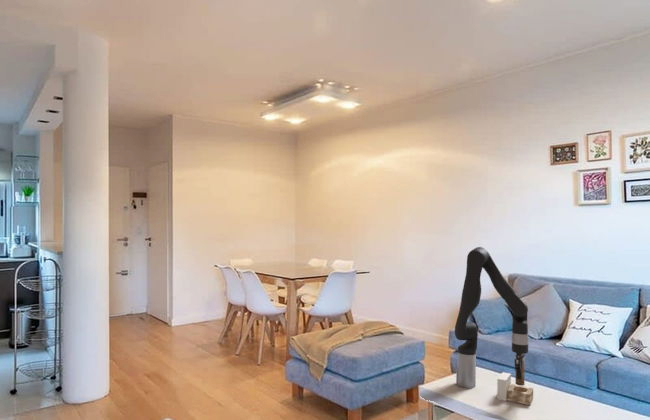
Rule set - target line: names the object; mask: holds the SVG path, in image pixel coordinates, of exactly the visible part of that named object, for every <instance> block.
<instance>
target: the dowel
mask: <svg viewBox="0 0 650 420" xmlns="http://www.w3.org/2000/svg"><path fill="white" fill-rule="evenodd" d="M521 364H522V363H521ZM524 365H525V364H524V361H523V367H522V378H521V379H517V378H516V377H515V385H519V386H525V366H524ZM518 368H519V367H518Z"/></svg>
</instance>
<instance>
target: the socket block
mask: <svg viewBox="0 0 650 420" xmlns="http://www.w3.org/2000/svg"><path fill="white" fill-rule="evenodd" d="M533 400H534V388H533V387H528V386H525V385H523V386H520V385H517V384H513V383H511V386H510V387H509V389H508V399H507V401H509V402H514V403H516V404H517V403H518V404H523V405H527V406H531V405H532V402H533Z"/></svg>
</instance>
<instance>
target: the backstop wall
mask: <svg viewBox="0 0 650 420" xmlns="http://www.w3.org/2000/svg"><path fill="white" fill-rule="evenodd" d="M511 384H512V374H511V373H509V372H501V373H500V375H499V376H498V378H497V388H496V390H497V391H496V395H497V396H496V397H497V400H499V401H503V402H507V401H508V389H509V387H510V386H511Z"/></svg>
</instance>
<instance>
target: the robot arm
mask: <svg viewBox="0 0 650 420" xmlns="http://www.w3.org/2000/svg"><path fill="white" fill-rule="evenodd" d="M483 269H484V271H485V272H486V274H487V275H488V277H489V279H490V281H491V284H492V285H493V287H494V290H496V292H497V294H498V295H499V296H500V298H502V300H503V301H504V302H505V304H506V305H507V306H508V308H509V309H510V310H511V312H512V324H511V325H512V326H511V330H512V331H511V333H512V334H511V351H512V352H513V353H515V355H514V360H513V361H514V370H515V379H516V378H517V379H521V378H522V367H523V361H524V367H525V363H526V361H525V360H526V354H528V353H529V336H528V335H529V334H528V333H529V328H528V327H529V326H528V312H529V308H528V305H527V304H526V302H524V301H523V300H522V299H521V298H520V297H519V296H518V294H517V292H516V290H515V289H514V288H513V286H511V284H510V283H509V282H508V281H507V280H508V279H506V278H505V277H504V275H503V274H502V273H501V271H500V269H499V268H498V266H497V265H496V263H495V261H494V260H493V257H492V256H491V255H490V253H489V252H488V249H486V248H485V247H483V246H479V247H475V248H473V249H471V250H470V251H469V252H468V254H467V256H466V269H465V270H466V272H465V277H464V281H463V287H462V293H461V300H460V306H459V311H458V315H457V319H456V320H455V321H456V322H455V326H454V335H455V338H456V340H458V341H465V342H464V343H462V344H460V345H458V347H457V366H456V368H455V369H456V372H455V373H456V374H455V375H456V376H455V377H456V384H455V385H456V386H458V387H461V388H464V389H473V388H476V385H477V384H476V383H477V382H476V380H477V379H476V378H477V377H476V375H477V374H476V373H477V371H476V370H477V365H476V363H477V358H476V357H477V356H476V355H477V350H478V349H477V348H478V337H479V336H478V334H479V332H478V326H477V324H476V323H474V322H472V321H469V322H468V320H469V318H470V316H471V315H472V314H473V313H474V312H475V310H476V309H477V308H478V306H479V304H480V302H481V295H482V284H481V274H482V270H483ZM521 363H522V364H521ZM518 367H519V368H518Z"/></svg>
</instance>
